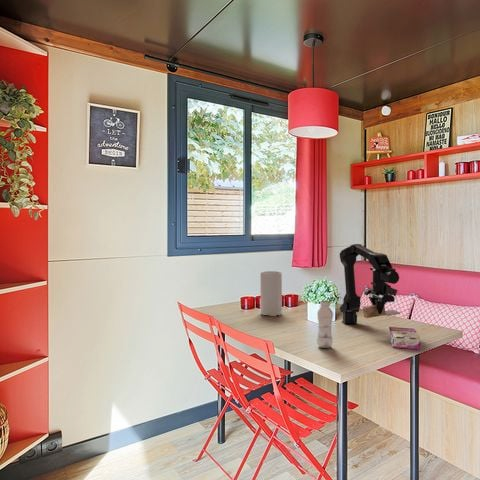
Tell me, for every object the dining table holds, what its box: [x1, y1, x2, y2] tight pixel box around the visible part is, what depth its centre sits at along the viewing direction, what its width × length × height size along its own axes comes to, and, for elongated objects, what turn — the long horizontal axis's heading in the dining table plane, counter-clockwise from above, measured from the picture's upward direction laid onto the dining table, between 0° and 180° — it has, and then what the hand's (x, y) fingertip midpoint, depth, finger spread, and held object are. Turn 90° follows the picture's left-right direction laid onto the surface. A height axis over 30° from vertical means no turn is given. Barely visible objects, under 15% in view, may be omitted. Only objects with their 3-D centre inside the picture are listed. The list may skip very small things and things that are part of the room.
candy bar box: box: [388, 326, 421, 350], centre depth 166 cm, size 11×5×16 cm
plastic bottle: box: [316, 300, 334, 349], centre depth 161 cm, size 6×7×20 cm
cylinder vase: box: [260, 270, 283, 317], centre depth 222 cm, size 12×12×25 cm
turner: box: [362, 304, 401, 319], centre depth 178 cm, size 17×6×5 cm, turn 103°
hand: (378, 313), depth 178 cm, fingers closed on turner, 3 cm apart
